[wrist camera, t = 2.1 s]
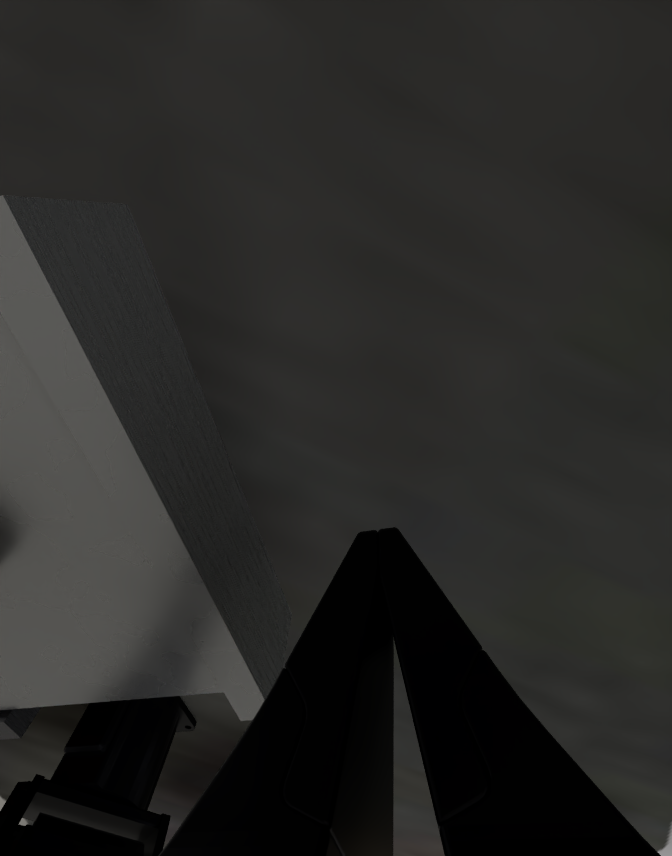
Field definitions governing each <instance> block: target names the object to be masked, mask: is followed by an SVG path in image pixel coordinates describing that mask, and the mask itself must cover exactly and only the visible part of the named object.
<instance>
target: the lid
mask: <svg viewBox="0 0 672 856" xmlns="http://www.w3.org/2000/svg"><path fill="white" fill-rule="evenodd" d="M291 617H292V613H291V611H290V608H289V606H288V603H287V601H286V598H285V596H284V593H283V591H282V588H281V586H280V583H279V581H278V578H277V576H276V573H275V571H274V568H273V566H272V563H271V561H270V558H269V556H268V553H267V551H266V548H265V546H264V543H263V541H262V539H261V536H260V534H259V531H258V529H257V526H256V524H255V521H254V519H253V516H252V514H251V511H250V509H249V506H248V504H247V501H246V499H245V496H244V494H243V491H242V489H241V486H240V484H239V481H238V479H237V476H236V474H235V471H234V469H233V466H232V464H231V461H230V459H229V456H228V454H227V451H226V449H225V446H224V444H223V441H222V439H221V436H220V434H219V431H218V429H217V426H216V424H215V421H214V419H213V416H212V414H211V411H210V409H209V406H208V404H207V401H206V399H205V396H204V394H203V391H202V389H201V386H200V384H199V381H198V379H197V376H196V374H195V371H194V369H193V366H192V364H191V361H190V359H189V356H188V354H187V351H186V349H185V346H184V344H183V341H182V339H181V336H180V334H179V331H178V329H177V326H176V324H175V321H174V319H173V316H172V314H171V311H170V309H169V306H168V304H167V301H166V299H165V296H164V294H163V291H162V289H161V286H160V284H159V281H158V279H157V276H156V274H155V272H154V269H153V267H152V264H151V262H150V259H149V257H148V254H147V252H146V249H145V247H144V244H143V242H142V239H141V237H140V234H139V232H138V229H137V227H136V224H135V222H134V219H133V217H132V214H131V212H130V209H129V207H128V204H118V203H104V202H90V201H76V200H62V199H48V198H34V197H20V196H6V195H2V196H0V710H8V709H21V708H33V707H46V706H58V705H71V704H83V703H95V702H108V701H120V700H133V699H145V698H158V697H170V696H183V695H195V694H207V693H220V692H224V693H225V695H226V697H227V699H228V700H229V702H230V704H231V705H232V707H233V709H234V710H235V712H236V714H237V716H238V717H239V719H240V721H245V720H253V719H254V717H255V715H256V714H257V712H258V710H259V709H260V707H261V705H262V704H263V702H264V700H265V699H266V697H267V695H268V693H269V692H270V690H271V688H272V687H273V685H274V683H275V681H276V679H277V678H278V676H279V674H280V672H281V670H282V669H283V664H284V658H285V652H286V647H287V641H288V635H289V629H290V623H291Z"/></svg>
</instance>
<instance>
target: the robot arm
mask: <svg viewBox="0 0 672 856" xmlns="http://www.w3.org/2000/svg"><path fill="white" fill-rule="evenodd" d="M393 637H394V641H395V645H396V650H397V654H398V658H399V662H400V667H401V671H402V675H403V679H404V684H405V688H406V692H407V696H408V701H409V705H410V709H411V713H412V718H413V722H414V726H415V730H416V735H417V739H418V743H419V747H420V752H421V756H422V760H423V764H424V769H425V773H426V777H427V782H428V786H429V790H430V794H431V799H432V803H433V807H434V811H435V816H436V820H437V824H438V828H439V832H440V837H441V841H442V845H443V850H444V854H445V856H661V855H660V854H659V853H658V852H657V851H656V850H655V849H654V848H653V847H652V846H651V845H650V844H649V843H648V842H647V841H646V840H645V839H644V838H643V837H642V836H641V835H640V834H639V833H638V832H637V830H636V829H635V828H634V827H633V826H632V825H631V824H630V823H629V822H628V821H627V820H626V819H625V817H624V816H623V815H622V814H621V813H620V812H619V811H618V810H617V808H616V807H615V806H614V805H613V804H612V803H611V802H610V801H609V799H608V798H607V797H606V796H605V795H604V794H603V793H602V792H601V790H600V789H599V788H598V787H597V786H596V785H595V784H594V783H593V781H592V780H591V779H590V778H589V777H588V776H587V775H586V774H585V772H584V771H583V770H582V769H581V768H580V767H579V766H578V765H577V763H576V762H575V761H574V760H573V759H572V758H571V757H570V756H569V754H568V753H567V752H566V751H565V750H564V749H563V748H562V747H561V745H560V744H559V743H558V742H557V741H556V740H555V739H554V738H553V736H552V735H551V734H550V733H549V732H548V731H547V730H546V728H545V727H544V726H543V725H542V724H541V722H540V721H539V720H538V719H537V718H536V717H535V715H534V714H533V713H532V712H531V711H530V709H529V708H528V707H527V706H526V705H525V704H524V702H523V701H522V700H521V699H520V698H519V696H518V695H517V694H516V692H515V691H514V690H513V688H512V687H511V686H510V684H509V683H508V682H507V680H506V679H505V678H504V676H503V675H502V674H501V672H500V671H499V670H498V668H497V667H496V666H495V664H494V663H493V661H492V660H491V659H490V657H489V656H488V654H487V653H486V652H485V651H484V650H482V646H481V645H480V644H479V642H478V641H477V639H476V638H475V636H474V635H473V634H472V632H471V631H470V629H469V628H468V627H467V625H466V624H465V622H464V621H463V620H462V618H461V617H460V615H459V614H458V613H457V611H456V610H455V608H454V607H453V606H452V604H451V603H450V601H449V600H448V599H447V597H446V596H445V594H444V593H443V591H442V590H441V589H440V587H439V586H438V584H437V583H436V582H435V580H434V579H433V577H432V576H431V575H430V573H429V572H428V570H427V569H426V568H425V566H424V565H423V563H422V562H421V561H420V559H419V558H418V556H417V555H416V553H415V552H414V551H413V549H412V548H411V546H410V545H409V544H408V542H407V541H406V539H405V538H404V537H403V535H402V534H401V532H400V531H399V530H398V529H397V528H395V527H393V528H386V529H380V530H379V531H378V532H377V531H376V530H371V531H364V532H360V533H358V534H357V536H356V538H355V540H354V542H353V543H352V545H351V547H350V549H349V551H348V552H347V554H346V556H345V558H344V559H343V561H342V563H341V565H340V567H339V568H338V570H337V572H336V574H335V576H334V577H333V579H332V581H331V583H330V585H329V586H328V588H327V590H326V592H325V594H324V595H323V597H322V599H321V601H320V603H319V604H318V606H317V608H316V610H315V612H314V613H313V615H312V617H311V619H310V621H309V622H308V624H307V626H306V628H305V630H304V631H303V633H302V635H301V637H300V638H299V640H298V642H297V644H296V646H295V647H294V649H293V651H292V653H291V655H290V656H289V658H288V660H287V662H286V664H285V668H286V669H285V668H283V669H282V670H281V672H280V674H279V676H278V678H277V679H276V681H275V683H274V685H273V687H272V688H271V690H270V692H269V693H268V695H267V697H266V699H265V700H264V702H263V704H262V705H261V707H260V709H259V710H258V712H257V714H256V715H255V717H254V719H253V720H252V722H251V723H250V725H249V726H248V728H247V729H246V731H245V732H244V734H243V735H242V737H241V738H240V740H239V741H238V743H237V744H236V746H235V747H234V749H233V750H232V752H231V753H230V755H229V756H228V758H227V759H226V760H225V762H224V763H223V765H222V766H221V768H220V769H219V771H218V772H217V774H216V775H215V776H214V778H213V779H212V781H211V782H210V784H209V785H208V787H207V788H206V790H205V791H204V792H203V794H202V795H201V797H200V798H199V800H198V801H197V803H196V804H195V805H194V807H193V808H192V810H191V811H190V813H189V814H188V816H187V817H186V819H185V820H184V821H183V823H182V824H181V826H180V827H179V829H178V830H177V832H176V833H175V834H174V836H173V837H172V839H171V840H170V841H169V843H168V844H167V845H166V847H165V848H164V849H163V846H164V842H165V838H166V834H167V830H168V825H169V821H170V817H171V816H170V815H166V814H161V815H160V814H156V813H153V812H150V811H147V810H148V807H149V804H150V801H151V799H152V796H153V793H154V790H155V787H156V785H157V782H158V779H159V776H160V774H161V771H162V768H163V765H164V762H165V760H166V757H167V754H168V751H169V749H170V746H171V743H172V740H173V737H174V735H175V732H182V731H193V730H194V729H195V726H196V723H197V722H196V720H195V719H194V717H193V716H192V714H191V713H190V711H189V710H188V708H187V707H186V706H185V704H184V703H183V701H182V700H181V698H180V697H179V696H170V697H158V698H145V699H133V700H120V701H108V702H95V703H89V705H88V707H87V709H86V710H85V712H84V714H83V716H82V718H81V719H80V721H79V723H78V725H77V727H76V728H75V730H74V732H73V734H72V735H71V737H70V739H69V741H68V743H67V744H66V746H65V748H64V752H65V754H64V756H63V758H62V760H61V762H60V763H59V765H58V767H57V769H56V771H55V772H54V774H53V776H52V778H51V780H47V779H44V778H45V777H44V776H41V775H38V774H36V776H35V777H34V779H33V781H32V782H31V781H28V782H18V783H17V785H16V786H15V788H14V790H13V791H12V793H11V795H10V796H9V798H8V800H7V801H6V803H5V805H4V806H3V808H2V809H1V811H0V856H393V728H394V644H393ZM21 818H25V819H28V820H32V821H34V823H33V825H28V824H27V825H26V826H22V825H18V824H19V822H20V820H21ZM162 850H163V851H162Z"/></svg>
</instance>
